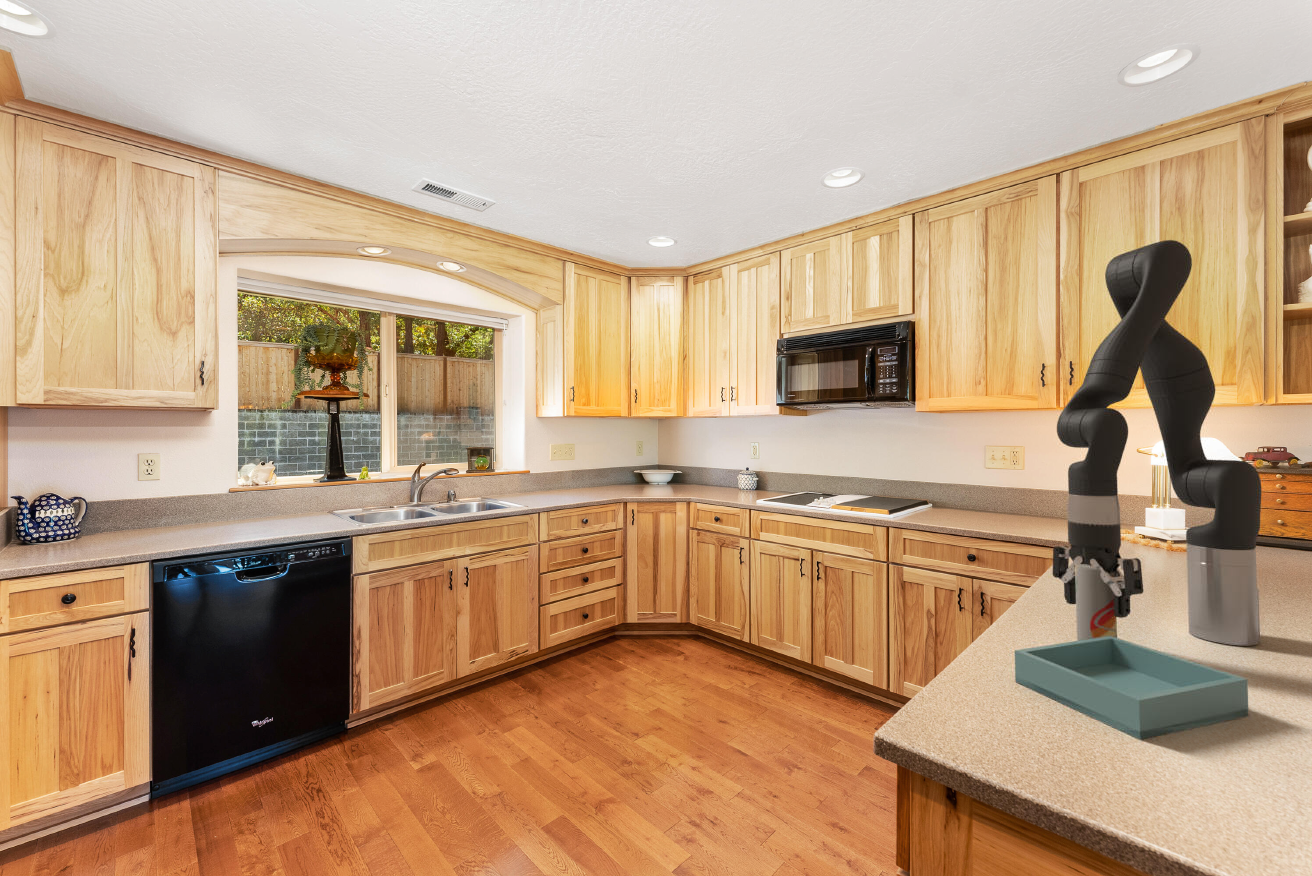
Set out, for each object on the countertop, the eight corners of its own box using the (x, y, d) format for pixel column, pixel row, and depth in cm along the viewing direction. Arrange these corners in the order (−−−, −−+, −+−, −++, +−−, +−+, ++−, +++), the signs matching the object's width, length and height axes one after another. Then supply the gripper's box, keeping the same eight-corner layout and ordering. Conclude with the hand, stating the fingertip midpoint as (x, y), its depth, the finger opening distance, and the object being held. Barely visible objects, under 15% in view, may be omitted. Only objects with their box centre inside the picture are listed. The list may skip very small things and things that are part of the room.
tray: (1110, 665, 94) (1109, 635, 94) (1248, 715, 77) (1247, 678, 77) (1015, 681, 89) (1014, 650, 89) (1140, 739, 71) (1139, 700, 72)
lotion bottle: (1124, 656, 98) (1121, 541, 98) (1087, 654, 99) (1084, 540, 99) (1105, 644, 103) (1102, 535, 104) (1070, 643, 105) (1067, 535, 105)
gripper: (1152, 523, 95) (1155, 619, 95) (1070, 513, 109) (1073, 597, 109) (1119, 526, 93) (1122, 624, 93) (1040, 516, 107) (1042, 601, 107)
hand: (1095, 609), depth 101 cm, fingers open, 8 cm apart
